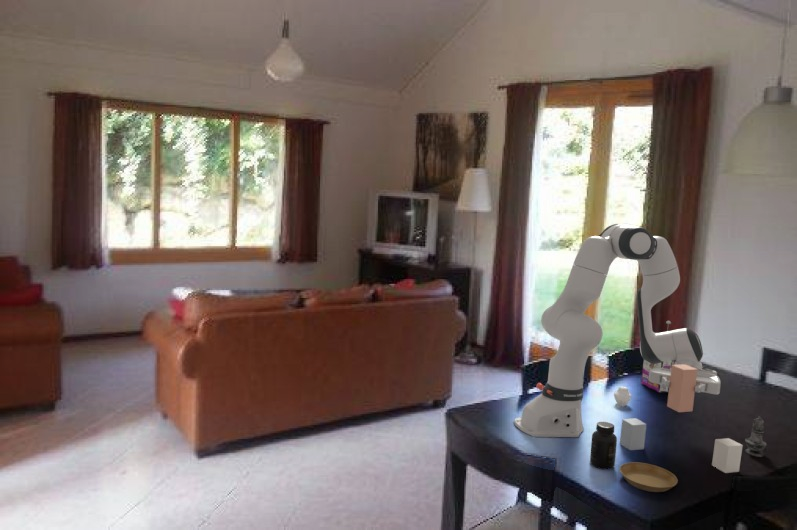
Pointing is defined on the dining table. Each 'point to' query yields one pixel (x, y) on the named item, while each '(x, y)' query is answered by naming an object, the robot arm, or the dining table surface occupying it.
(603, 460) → the supplement bottle
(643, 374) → the candy bar box
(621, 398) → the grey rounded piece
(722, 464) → the off-white block
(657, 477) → the plant saucer
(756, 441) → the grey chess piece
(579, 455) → the dining table surface
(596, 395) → the dining table surface
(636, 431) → the grey-blue block
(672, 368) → the coral block
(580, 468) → the dining table surface
